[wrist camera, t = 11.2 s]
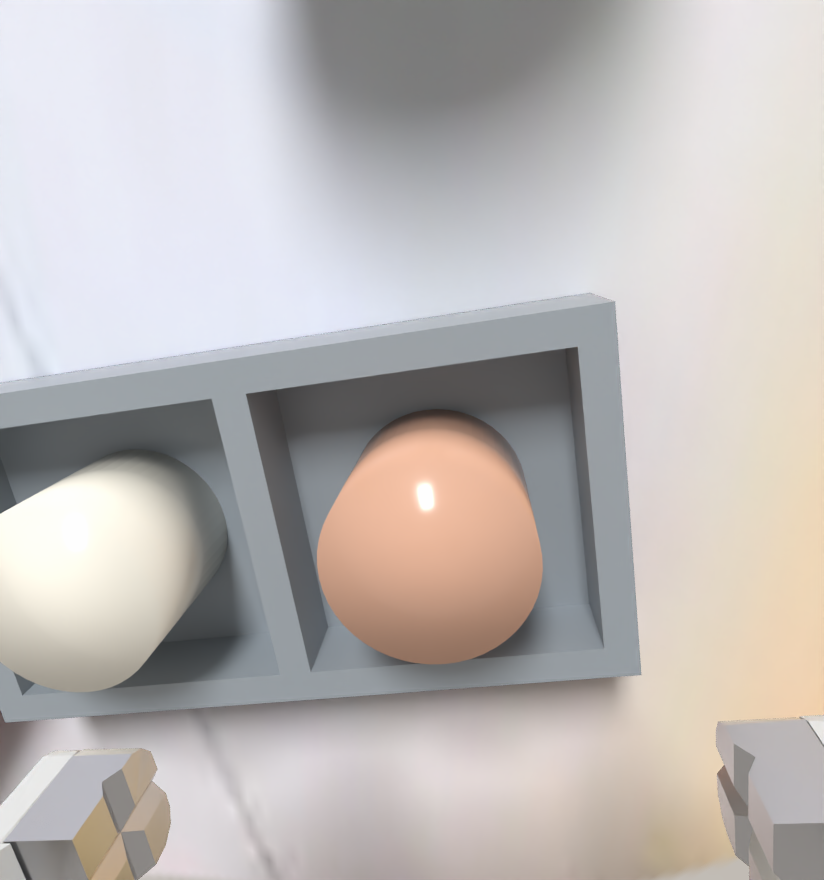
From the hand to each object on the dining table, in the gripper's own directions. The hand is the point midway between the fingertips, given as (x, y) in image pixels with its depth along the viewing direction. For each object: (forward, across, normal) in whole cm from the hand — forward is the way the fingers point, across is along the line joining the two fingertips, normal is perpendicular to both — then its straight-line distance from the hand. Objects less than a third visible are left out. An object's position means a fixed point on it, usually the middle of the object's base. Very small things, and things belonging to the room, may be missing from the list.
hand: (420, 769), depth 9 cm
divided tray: (+13, +6, 0) cm, 14 cm away
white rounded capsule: (+12, +11, 0) cm, 16 cm away
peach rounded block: (+12, +1, 0) cm, 12 cm away
